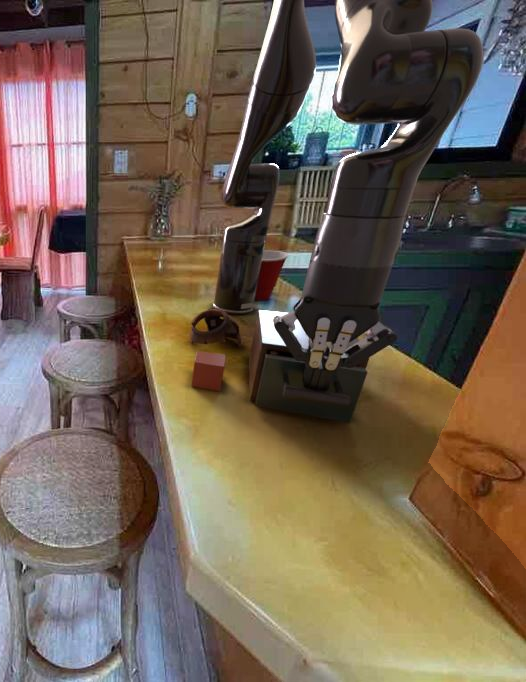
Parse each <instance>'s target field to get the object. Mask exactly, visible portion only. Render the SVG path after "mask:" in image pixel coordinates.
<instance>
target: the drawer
mask: <svg viewBox="0 0 526 682" xmlns="http://www.w3.org/2000/svg"><path fill="white" fill-rule="evenodd" d="M321 362H322V361H321ZM305 366H306V363H305V362H303V361H297V360H295V358H294V357H293V355H292V354H291V352H284V351H276V350H269V349H268V350H267V354H266V356H265V360H264V365H263V370H262V374H261V379H260V383H259V388H258V393H257V397H256V401H255V406H257V407H262V408H267V409H273V410H280V411H284V412H289V413H293V414H295V413H296V414H300V415H306V416H310V417H311V416H312V417H315V418H316V417H317V418H322V419H327V420H333V421H338V422H344V423H349V424H350V423H351V420H352V418H353V415H354V412H355V410H356V407H357V404H358V400H359V398H360V395H361V392H362V389H363V386H364V384H365V381H366V379H367V375H368V373H369V372H368V370H367V367H366V368H363V367H356V366H355V367H353V368H347V367H340V368H337V369H336V370H335V371H334V373H333V377H332V380H331V383H330V386H329V389H328V390H327V391H319V390H313V389H307V388H304V385H303V381H302V377H303V373H304V369H305Z"/></svg>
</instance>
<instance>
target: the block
mask: <svg viewBox="0 0 526 682" xmlns="http://www.w3.org/2000/svg"><path fill="white" fill-rule="evenodd" d="M225 367H226V354H221V353H215V352H208V351H202V350H197V351H196V354H195V359H194V362H193V371H192V377H191V378H192V379H191V387H194V388H200V389H205V390H211V391H216V392H221V390H222V383H223V379H224V371H225Z"/></svg>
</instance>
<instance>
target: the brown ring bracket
mask: <svg viewBox="0 0 526 682" xmlns="http://www.w3.org/2000/svg"><path fill="white" fill-rule="evenodd" d="M202 320H203V321H204V323H205V324H206V329H207V331H204V330H199V329H197V328H196V326H197V324H199V322H201V321H202ZM190 324H191V326H192V327H191V329H190V334H189V337H190V338H189V339H190V343H191V344H192V345H193V344H201V345H207V344H215V343H218V342H220V343H222V344H226V338H230V339H233V340H235V341H236V342H237V345H238V348H241V347H242V336H241V333H240V325H239V324H238V322H237V320H236V319H235V318H234V317H232V316H231V315H229V313H226V312H225V311H223V310H220V309H216V308H215V307H213V306H211V307H209V308H208V309H206V310H204V311H202V312H199V313H198V314H197V315H196V316H195V317H194V318H192V320H191V323H190Z"/></svg>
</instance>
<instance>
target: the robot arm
mask: <svg viewBox="0 0 526 682" xmlns="http://www.w3.org/2000/svg"><path fill="white" fill-rule="evenodd" d="M432 13H433V0H335V5H334V19H335V25H336V29H337V34H338V38H339V42H340V46H341V49H340V56H339V57H340V58H339V65H338V71H337V75H336V78H335V81H334V83H333V84H334V85H333V88H332V93H331V103H330V104H331V109H332V112H333V113H334V114H335V116H336V117H337V118H338V119H339V120H340V121H342V122H343V123H345V124H348V125H355V126H360V125H361V126H362V125H363V126H365V125H382V124H383V125H384V124H397V127H396V128H395V130H394V131H393V133H392V135H390V136H389V138H388V140H386V142H384V144H383V145H381V146H380V147H377V148H374V149H369V150H365V151H360V152H356V153H355V152H354V153H352V154H349V155H347V156H345V157H343V158H342V159H341V160H340V161H339V162H338V163H337V165H336V167H335V169H334V172H333V175H332V179H331V183H330V187H329V192H328V196H327V200H326V204H325V208H324V213H323V215H322V219H321V221H320V224H319V226H318V229H317V232H316V235H315V239H314V242H313V247H312V251H311V255H310V259H309V263H308V268H307V271H306V275H305V280H304V285H303V288H302V292H301V296H300V298H299V300H297V302H295V304H294V306H293V310H291V311H289V312H286V313H287V314H285V315H283V316H280V315H277V316H275V317H274V318H273V323H274V328H275V329H276V331H277V333H278V334H279V336H280V337H281V339H282V340H283V342H284V343H285V345H286V346H287V348H288V349H289V351H290V352H291V354H292V355H293V357H294V358H295V360H297V361H303V362H305V363H306V366H305V369H304V373H303V377H302V381H303V385H304V388H307V389H313V390H319V391H327V390H328V389H329V386H330V383H331V380H332V377H333V373H334V371H335V370H336V369H337V368H340V367H347V368H353V367H355V366H356V365H358V364H360V363H361V362H363V361H364V360H366V359H368V358H369V357H370V358H372V356H374V355H376V354H377V353H379V352H381V351H382V350H384V349H386V348H387V347H389V346H390V345H392V344H394V343H395V342H397V340H398V336H397V334H396V333H395V332H394V331H393V330H392V329H391V328H390V327H389V326H387V325H384V324H383V322H381V321H380V320H381V313H380V311H379V307H380V303H381V301H382V299H383V295H384V293H385V289H386V286H387V283H388V280H389V277H390V274H391V271H392V268H393V265H394V262H395V260H396V259H397V258H398V254H399V247H400V244H401V240H402V236H403V230H404V224H405V220H406V215H407V213H408V209H409V207H410V205H411V200H412V198H413V195H414V191H415V188H416V187H417V182H418V179H419V176H420V175H421V172H422V170H423V168H424V167H425V165H426V163H427V162H428V161H429V159H430V157H431V155H432V154H433V152H434V151H435V149H436V148H437V145H438V144H439V142H440V140H441V139H442V137H443V135H444V134H445V133H446V131H447V129H448V127H449V126H450V125H451V124H452V121H453V120H454V119H455V117H456V116H457V114H458V113H459V112H460V110H461V109H462V107H463V106H464V104H465V102H466V101H467V99H468V98H469V96H470V95H471V93H472V91H473V89H474V88H475V86H476V84H477V81H478V79H479V77H480V75H481V71H482V69H483V64H484V54H485V53H484V45H483V42H482V40H481V37H480V35H478V34H477V32H475V31H473V30H471V29H469V28H459V27H458V28H446V29H434V30H426V29H427V28H428V25H429V24H430V20H431V19H432V18H431V17H432ZM306 15H307V14H306V7H305V0H273V4H272V9H271V13H270V17H269V20H268V25H267V29H266V32H265V35H264V39H263V43H262V46H261V50H260V53H259V57H258V60H257V63H256V67H255V69H254V73H253V76H252V77H253V78H252V80H251V84H250V88H249V92H248V97H247V101H246V106H245V110H244V113H243V119H242V123H241V127H240V131H239V135H238V138H237V141H236V145H235V148H234V151H233V155H232V157H231V160H230V163H229V166H228V169H227V171H226V175H225V178H224V181H223V185H222V192H221V201H222V203H223V206H224V207H226V208H228V209H233V210H234V209H235V210H247V209H249V210H251V209H252V210H253V212H252V213H251V214H250V215H249V216H247V217H245V218H243V219H242V220H240V221H237V222H233V223H230V224H228V225H226V226H225V227H224V230H223V237H222V244H221V252H220V257H219V263H218V264H219V265H218V272H217V277H216V285H215V292H214V299H213V300H214V301H213V303H212V307H215V308H216V309H220V310H223V311H225V312H226V313H227V314H230V315H231V314H232V315H246V314H250V313H252V312H253V311H254V303H255V294H256V289H257V284H258V278H259V273H260V268H261V262H262V257H263V251H264V250H265V247H266V246H265V245H266V240H267V235H268V231H269V227H270V223H271V218H272V214H273V209H274V204H275V202H276V197H277V194H278V189H279V185H280V168H279V166H278V165H277V164H275V163H253V161H254V159H255V158H256V157H257V155H258V154H259V153H260V152H261V151H262V150H263V149H264V148H265V147H266V146H267V145H268V144H269V143H271V142H272V141H273V140H274V139H275V138H276V137H277V136H278V135H279V134H280V133H282V132H283V131H284V130H285V129H286V128H287V127H288V126H289V125H290V124H291V123H292V121H294V119H295V118H296V117H297V115H299V112H300V111H301V109H302V107H303V105H304V103H305V99H306V97H307V94H308V92H309V89H310V87H311V85H312V83H313V79H314V76H315V74H316V69H317V57H316V49H315V45H314V42H313V38H312V35H311V31H310V28H309V25H308V20H307V16H306ZM296 320H298V321H299V323H300V325H301V326H302V328H303V330H304V332H305V333H306V335H307V336H308V337H309V345H308V350H307V349H305V348H303V347H302V346H301V344H300V343H299V341H298V340H297V338H296V337H295V335H294V333H293V332H292V331H294V330H295V321H296ZM363 334H365V336H364V337H363V338H361V339H359V341H358V342H356V343H355V344H353V345H352V346H350V347H349V348H347V345H348V343H349V342H351V341H353V340H355V339H356V338H359V337H360V336H362V335H363ZM326 342H327V344H326ZM325 345H326V348H325ZM346 348H347V349H346ZM323 352H324V353H323ZM370 358H369V359H370ZM321 361H322V362H321Z"/></svg>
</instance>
